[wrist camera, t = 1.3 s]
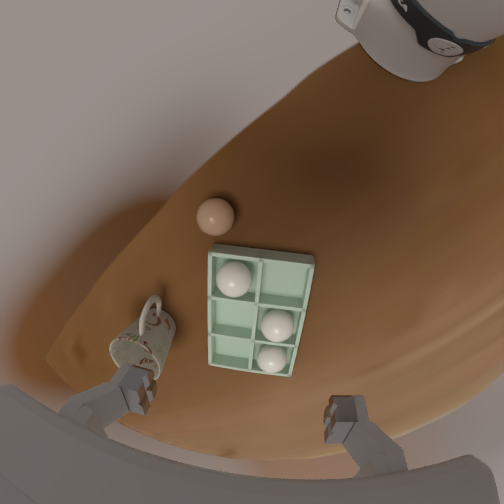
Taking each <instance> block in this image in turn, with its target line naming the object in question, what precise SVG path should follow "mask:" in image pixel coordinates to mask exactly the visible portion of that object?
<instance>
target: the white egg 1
mask: <svg viewBox="0 0 504 504" xmlns="http://www.w3.org/2000/svg"><path fill="white" fill-rule="evenodd" d="M216 283H217V286H218V288H219V290H220V291H221V292H222V293H223V294H224V295H226V296H229V297H240V296H242V295H244V294H245V293H247V291H248V290H249V289H250V287H251V284H252V274H251V272H250V270H249V268H248V267H247V266H246V265H244V264H243V263H241V262H237V261H231V262H227V263H225V264H224V265H222V266H221V267H220V269H219V270H218V272H217V275H216Z"/></svg>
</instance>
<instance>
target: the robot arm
mask: <svg viewBox="0 0 504 504" xmlns="http://www.w3.org/2000/svg"><path fill="white" fill-rule="evenodd" d="M345 11H348V12H349V13H346V12H345ZM335 19H336V21H337V22H338V23H339V24H340V25H341V26H342V27H344V28H345V29H346V30H348V31H349V32H351V33H352V34H353V35H354V36H355V37H356V38H357V40H358V41H359V43H360V44H361V46H362V47H363V48H364V50H365V51H366V52H367V53H368V55H369V56H370V57H371V58H372V59H373V60H374V61H375V62H377V63H378V64H379V65H380V66H382V67H383V68H384V69H386V70H387V71H389V72H391V73H392V74H394V75H396V76H399V77H401V78H404V79H407V80H411V81H417V82H425V81H430V80H433V79H436V78H437V77H439V76H440V75H441V74H442V73H443V72H444V71H445V70H446V69H447V68H448V67H449V66H450V65H453V64H456V63H459V62H460V61H461V60H462V59H463V56H464V55H466V54H470V53H473V52H475V51H477V50H480V49H482V48H485V47H487V46H488V45H490V44H492V43H493V42H494V40H495V39H496V38H497V37H499V36H502V35H504V0H340V1H339V5H338V8H337V12H336V16H335ZM154 376H155V374H154V371H153V370H150V369H147V368H143V367H140V366H137V365H133V364H130V363H127V362H124V363H123V364H122V365H121V366H120V368H119V369H118V370H117V372H116V373H115V374H114V376H113V377H112V379H111V380H110V381H109V383H108V382H105V383H103V384H100V385H98V386H96V387H93V388H91V389H89V390H86V391H84V392H81V393H79V394H77V395H74V396H71V397H70V398H69V399H68V400H67V401H66V403H65V404H64V405H63V407H62V408H61V409H60V410H59V412H58V413H56V412H55V411H53V410H51V409H50V408H48V407H46V406H45V405H43V404H42V403H40V402H38V401H37V400H35V399H34V398H32V397H31V396H29V395H28V394H26V393H25V392H23V391H22V390H20V389H19V388H17V387H16V386H14V385H12V384H4V385H0V504H500V501H499V497H498V491H497V487H496V483H495V479H494V476H493V473H492V471H491V469H490V467H489V466H488V465H486V464H485V463H484V462H482V461H481V460H479V459H478V458H476V457H475V456H473V455H464V456H461V457H458V458H455V459H451V460H448V461H445V462H441V463H437V464H434V465H430V466H425V467H422V468H417V469H412V470H408V469H407V465H406V460H405V456H404V451H403V449H402V448H401V447H399V446H398V445H397V444H396V443H395V442H394V441H393V440H392V439H391V438H390V437H389V436H387V435H386V434H385V433H384V432H383V431H382V430H381V429H380V428H379V427H378V426H377V425H376V424H375V423H373V422H370V421H369V416H368V411H367V407H366V403H365V398H364V396H363V395H353V396H352V395H331V397H330V399H329V405H328V406H326V409H325V412H324V426H325V427H326V429H325V432H324V437H325V444H342V445H343V446H344V447H345V449H346V450H347V451H348V453H349V454H350V455H351V456H352V458H353V459H354V460H355V462H356V463H357V464H358V466H359V467H360V468H361V469H360V470H359V471H358V473H357V474H356V475H355V476H354V477H353V478H346V479H324V480H323V479H322V480H321V479H320V480H305V479H304V480H303V479H280V478H279V479H278V478H267V477H256V476H247V475H240V474H234V473H227V472H222V471H216V470H211V469H206V468H202V467H197V466H192V465H188V464H184V463H181V462H177V461H173V460H169V459H166V458H163V457H159V456H156V455H153V454H150V453H147V452H144V451H141V450H138V449H135V448H132V447H130V446H127V445H124V444H122V443H119V442H117V441H114V440H112V439H109V438H108V436H107V434H106V433H105V431H104V429H103V428H104V427H106V426H108V425H109V424H111V423H113V422H114V421H116V420H118V419H119V418H121V417H122V416H124V415H125V414H127V413H129V412H130V411H131V412H135V413H138V414H141V415H146V413H147V411H148V409H149V407H150V404H149V402H150V401H152V400H153V399H154V398H155V396H156V392H157V383H156V381H155V380H154V379H153V378H154Z"/></svg>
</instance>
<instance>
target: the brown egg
mask: <svg viewBox="0 0 504 504" xmlns="http://www.w3.org/2000/svg"><path fill="white" fill-rule="evenodd" d="M196 219H197V224H198V226H199V228H200V229H201V230H202V231H203V232H204V233H206V234H208V235H211V236H219V235H222V234H225V233H226V232H227V231H229V230H230V228H231V227H232V225H233V223H234V211H233V208H232V207H231V205H230V204H229V203H228V202H227V201H225V200H223V199H220V198H211V199H208V200H206V201H204V202H203V203H202V204H201V205H200V207H199V208H198V211H197V215H196Z"/></svg>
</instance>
